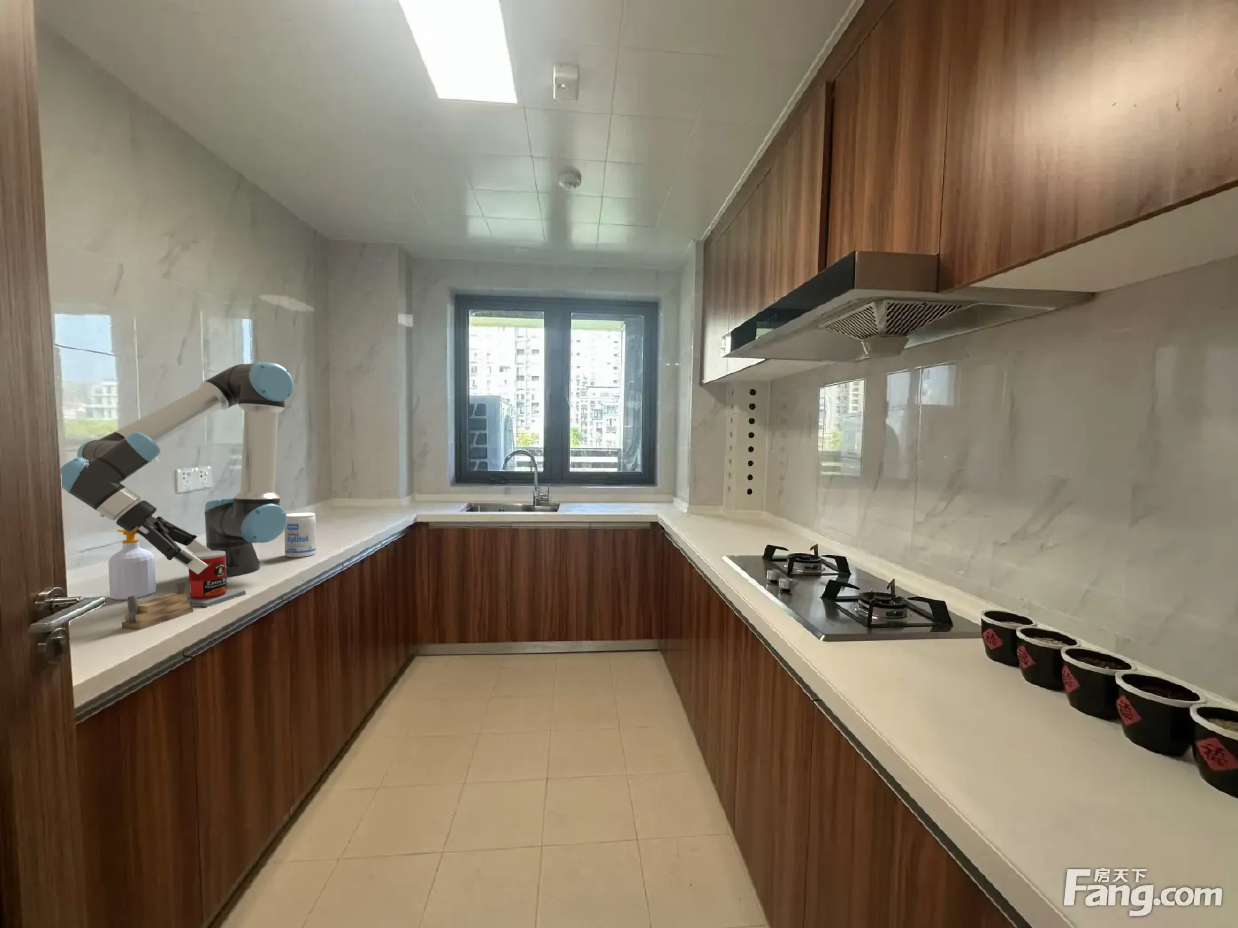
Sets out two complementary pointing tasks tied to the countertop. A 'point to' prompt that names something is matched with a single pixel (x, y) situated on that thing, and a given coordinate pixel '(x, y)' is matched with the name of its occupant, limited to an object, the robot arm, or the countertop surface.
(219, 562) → the canned food
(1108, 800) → the countertop surface
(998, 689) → the countertop surface
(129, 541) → the soap bottle
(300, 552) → the supplement tub
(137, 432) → the robot arm
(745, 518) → the countertop surface
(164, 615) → the offcut rack
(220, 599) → the slate mat
